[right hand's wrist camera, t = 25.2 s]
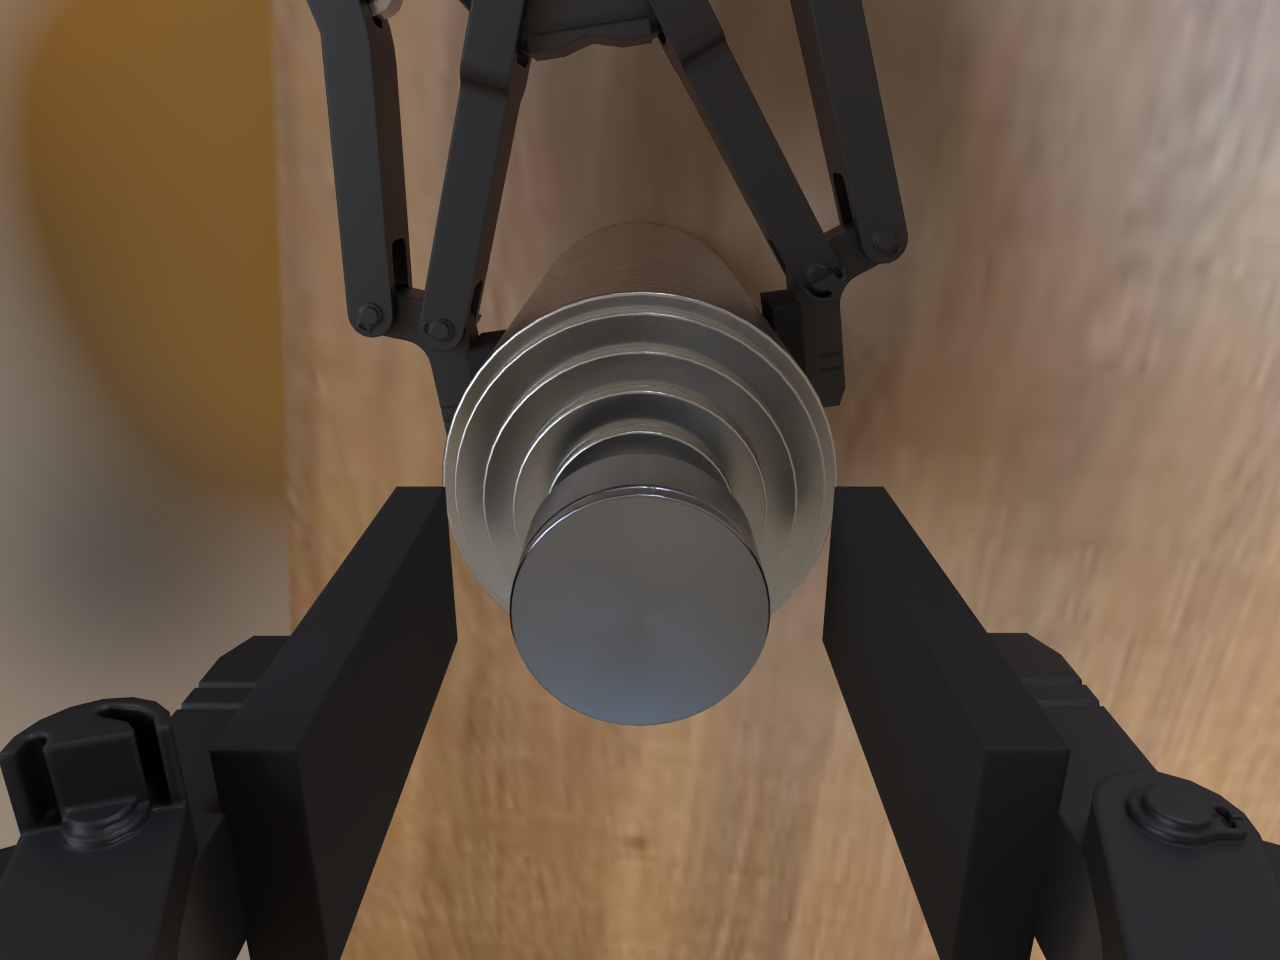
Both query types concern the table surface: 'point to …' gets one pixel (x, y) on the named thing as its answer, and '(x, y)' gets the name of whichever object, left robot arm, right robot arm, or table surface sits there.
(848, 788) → the table surface
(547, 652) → the cap
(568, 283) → the bottle
